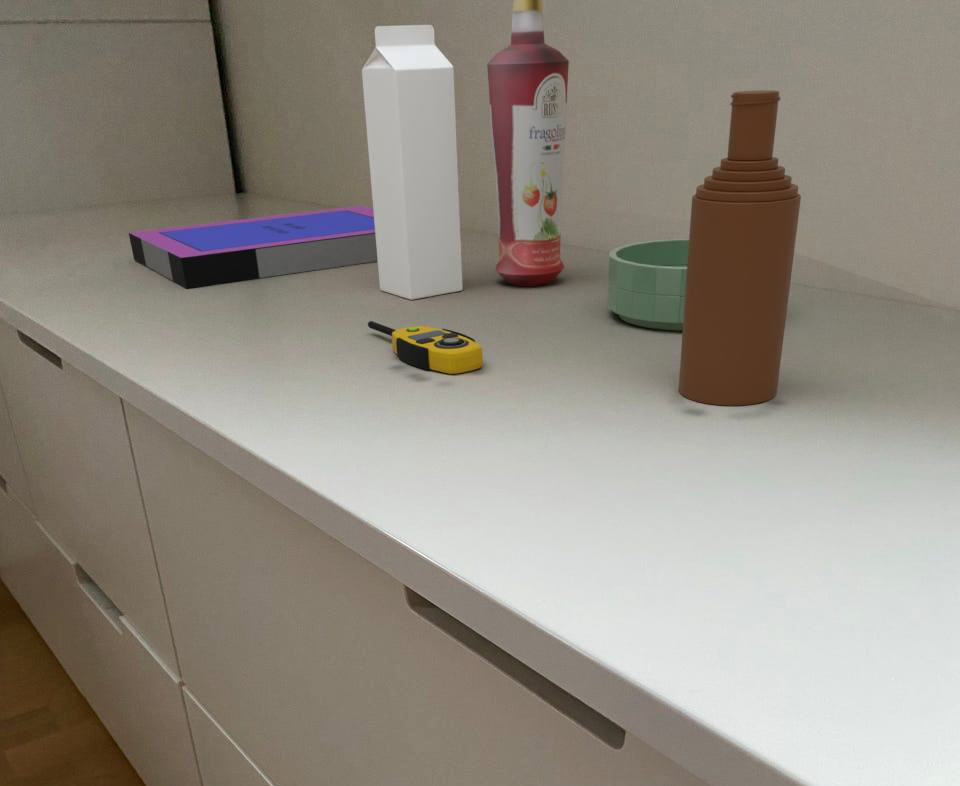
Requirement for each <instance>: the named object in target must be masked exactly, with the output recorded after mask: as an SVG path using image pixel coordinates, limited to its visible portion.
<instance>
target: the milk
mask: <svg viewBox="0 0 960 786" xmlns="http://www.w3.org/2000/svg"><path fill="white" fill-rule="evenodd" d="M374 40H375V41H374V43H375V48H374V49H373V51H372V53H371V54H370V56H369V58H368V59H367V61H366V62H365V63H364V65H363V67H362V69H361V79H362V91H363V102H364V114H365V126H366V137H367V151H368V160H369V175H370V186H371V187H370V188H371V198H372V208H373V211H374V223H375V235H376V247H377V259H378V261H377V269H378V280H379V281H378V283H379V290H380V291H381V292H384V293H388V294H390V295H395V296H397V297H400V298H404V299H406V300H410V301H413V300H418V299H423V298H429V297H434V296H440V295H445V294H452V293H457V292H462V291H463V288H464V287H463V266H462V264H463V263H462V262H463V261H462V239H461V215H460V195H459V194H460V193H459V191H460V190H459V170H458V145H457V144H458V143H457V122H456V121H457V120H456V119H457V117H456V100H455V99H456V98H455V97H456V95H455V72H454V65H453V64H452V63H451V62H450V60H449V59H447V57H446V56H445V55H444V54H443V52H442V51H441V50H440V49H439V48H438V47H437V45H436V42H435V40H436V39H435V28H434V26H433V25H432V24H412V25H409V24H407V25H406V24H405V25H378V26H375V28H374Z"/></svg>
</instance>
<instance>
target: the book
mask: <svg viewBox="0 0 960 786" xmlns="http://www.w3.org/2000/svg"><path fill="white" fill-rule="evenodd" d="M128 238H129V240H130V241H129V242H130V246H131V251H132V256H133V260H134V261H135V262H137V263H139V264H141V265H143V266H145V267H146V268H148V269H150V270H151V271H153V272H156V273H157V274H159V275H161V276H163V278H164V277H165V278H166V279H168V280H170V281H172V282H174V283H175V284H177V285H179V286H181V287H182V288H185V289H186V290H187V289H194V288H201V287H208V286H214V285H215V286H216V285H223V284H228V283H236V282H242V281H249V280H256V279H264V278H269V277H270V278H271V277H277V276H283V275H291V274H298V273H304V272H305V273H306V272H312V271H318V270H319V271H320V270H326V269H332V268H338V267H339V268H340V267H346V266H354V265H360V264H368V263H374V262H375V263H376V262H378V259H377V247H376V235H375V223H374V211H373V207H368V206H364V205H356V206H347V207H338V208H330V209H320V210H313V211H303V212H295V213H287V214H279V215H272V216H271V215H268V216H261V217H260V216H259V217H252V218H244V219H234V220H227V221H218V222H207V223H201V224H192V225H183V226H176V227H167V228H157V229H149V230H141V231H132V232H128Z"/></svg>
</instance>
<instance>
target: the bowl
mask: <svg viewBox="0 0 960 786" xmlns="http://www.w3.org/2000/svg"><path fill="white" fill-rule="evenodd" d="M688 249H689V238H673V239H672V238H670V239H669V238H667V239H655V240H646V241H640V242H633V243H629V244H625V245H621V246H618V247H615V248H614V249H612V250H610V251H609V252H608V276H607V277H608V280H607V309H608V310H610V311H611V312H613V313H614V314H616V315H617V316H618V318H619V319H621V320H622V321H623V322H624V323H627V324H630V325H634V326H637V327H641V328H647V329H653V330H663V331H675V332H678V331H680V332H683V319H684V305H685V291H686V277H687V263H688Z"/></svg>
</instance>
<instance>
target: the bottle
mask: <svg viewBox="0 0 960 786" xmlns="http://www.w3.org/2000/svg"><path fill="white" fill-rule="evenodd" d="M730 98H732V99H731V100H732V101H731V102H730V106H731V110H730V112H731V113H730V124H729V134H728V145H727V157H724V158H721V159H720V166H716V167H713V169H712V172H711V175H707V176H706V177H704V181H703V183H702V184H699V185H697V186H696V189H695V190H696V191H695V194H693V195H692V196H691V207H690V208H691V209H690V223H689V237H688V239H689V249H688V263H687V277H686V291H685V305H684V319H683V331H682V335H681V351H680V352H681V353H680V361H679V362H680V364H679V377H678V378H679V379H678V392H679V394H680V395H681V396H683V397H685V398H686V399H688V400H691V401H694V402H698V403H702V404H707V405H715V406H731V407H732V406H733V407H734V406H736V407H737V406H748V405H750V406H751V405H756V404H760V403H764V402H768V401H770V400H772V399H774V397H775V396H776V395H777V392H778V386H779V385H778V384H779V377H780V371H781V362H782V361H781V360H782V352H783V346H784V345H783V344H784V339H785V338H784V337H785V329H786V320H787V312H788V305H789V296H790V289H791V280H792V272H793V264H794V256H795V249H796V248H795V247H796V241H797V234H798V233H797V232H798V225H799V216H800V209H801V201H802V200H801V199H802V195H801V194H800V193H799V185H798V184H795V183H793V182H792V179H793V177H792V176H791V175H787V174H786V167H784V166H782V165H779V160H780V159H779V158H778V157H774V156H773V155H774V146H775V137H776V128H777V118H778V109H779V102H780V101H781V96H780V90H743V91H734V92H733V93H732V94H731V95H730Z"/></svg>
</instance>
